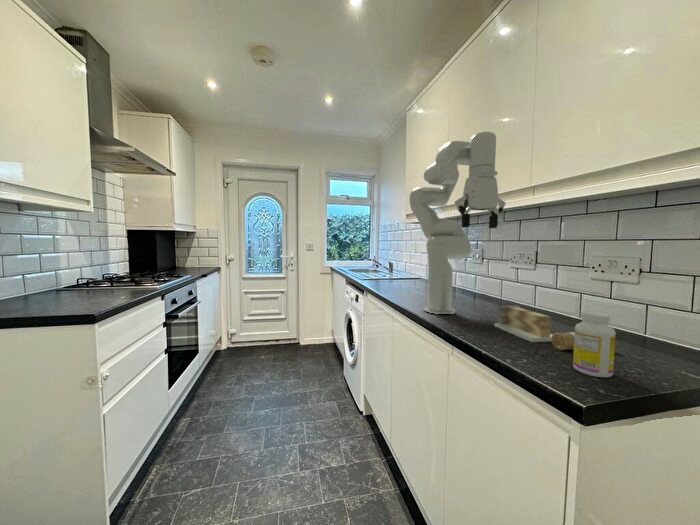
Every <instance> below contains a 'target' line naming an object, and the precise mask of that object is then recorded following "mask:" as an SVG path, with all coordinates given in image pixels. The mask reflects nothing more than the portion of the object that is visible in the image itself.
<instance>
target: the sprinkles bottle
mask: <svg viewBox="0 0 700 525" xmlns="http://www.w3.org/2000/svg"><path fill="white" fill-rule="evenodd" d="M574 336H575V331H571V332H569V331H568V332H555V333H553V336H552V338H551V341H550V342H551V344H552V346H553V348H555V349H557V350H558V351H565V350H571V351H572V350H573V351H574Z"/></svg>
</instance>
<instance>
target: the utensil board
mask: <svg viewBox="0 0 700 525" xmlns="http://www.w3.org/2000/svg"><path fill="white" fill-rule="evenodd" d="M494 326H495V328H497V327H498V328H497V329H499V328H500V329H499V330H501V331H504V332H506V331H507V332H506V333H509V334H512V335H514V336H516V337H519V338H521V339H524V340H526V341H529V342H530V343H541V342H542V343H544V342H552V341H551V338H552V336H553V334H554V333H553V334H552V333H550V337H538V336H536V335H533V334H530V333H528V332H525V331H523V330H520V329H517V328H515V327H512V326H509V325H507V324H499V322H494V324H493V327H494Z"/></svg>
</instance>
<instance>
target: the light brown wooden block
mask: <svg viewBox="0 0 700 525" xmlns="http://www.w3.org/2000/svg"><path fill="white" fill-rule="evenodd" d="M551 319H552V316H550V315H546V314H543V313H539V312H536V311H532V310H529V309H525V308H521V306H520V305H499V307H498V323H499V324H507V325H509V326H512V327H515V328H517V329H520V330H523V331H525V332H528V333H530V334H533V335H536V336H538V337H550V334H551V323H552V322H551Z"/></svg>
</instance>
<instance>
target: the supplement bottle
mask: <svg viewBox="0 0 700 525" xmlns="http://www.w3.org/2000/svg"><path fill="white" fill-rule="evenodd" d="M580 314H581V315H580V317H581V320H582V321H581V322H578V323H576V325H575V326H574V332H575V336H574V349H573V358H572V359H573V361H572V362H573V363H572V366H573V368H574V369H575V370H576V371H578V372H580V373H582V374H584V375H587V376H591V377H597V378H611V377H612V376H613V375H614V371H615V370H614V369H615V368H614V365H615V351H616V350H615V349H616V348H615V345H616V330H615V329H614V328H613V327H612V326H609V323H610V321H611V315H610V314H608V313H603V312H597V311H589V310H588V311H586V310H585V311H584V310H583V311H581V313H580Z"/></svg>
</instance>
